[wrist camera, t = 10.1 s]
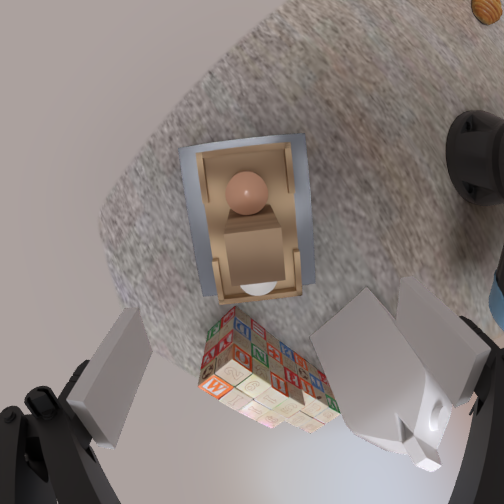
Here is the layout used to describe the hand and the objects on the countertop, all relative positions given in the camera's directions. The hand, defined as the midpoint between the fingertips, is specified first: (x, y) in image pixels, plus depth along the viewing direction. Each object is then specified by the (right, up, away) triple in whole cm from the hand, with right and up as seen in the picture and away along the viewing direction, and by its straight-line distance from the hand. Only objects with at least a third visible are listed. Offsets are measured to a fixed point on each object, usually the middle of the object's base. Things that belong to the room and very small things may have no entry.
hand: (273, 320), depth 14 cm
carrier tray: (-1, +7, +20) cm, 21 cm away
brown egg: (-2, +10, +15) cm, 18 cm away
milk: (+16, -10, +30) cm, 36 cm away
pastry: (+41, +48, +12) cm, 64 cm away
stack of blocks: (+2, -13, +31) cm, 34 cm away
